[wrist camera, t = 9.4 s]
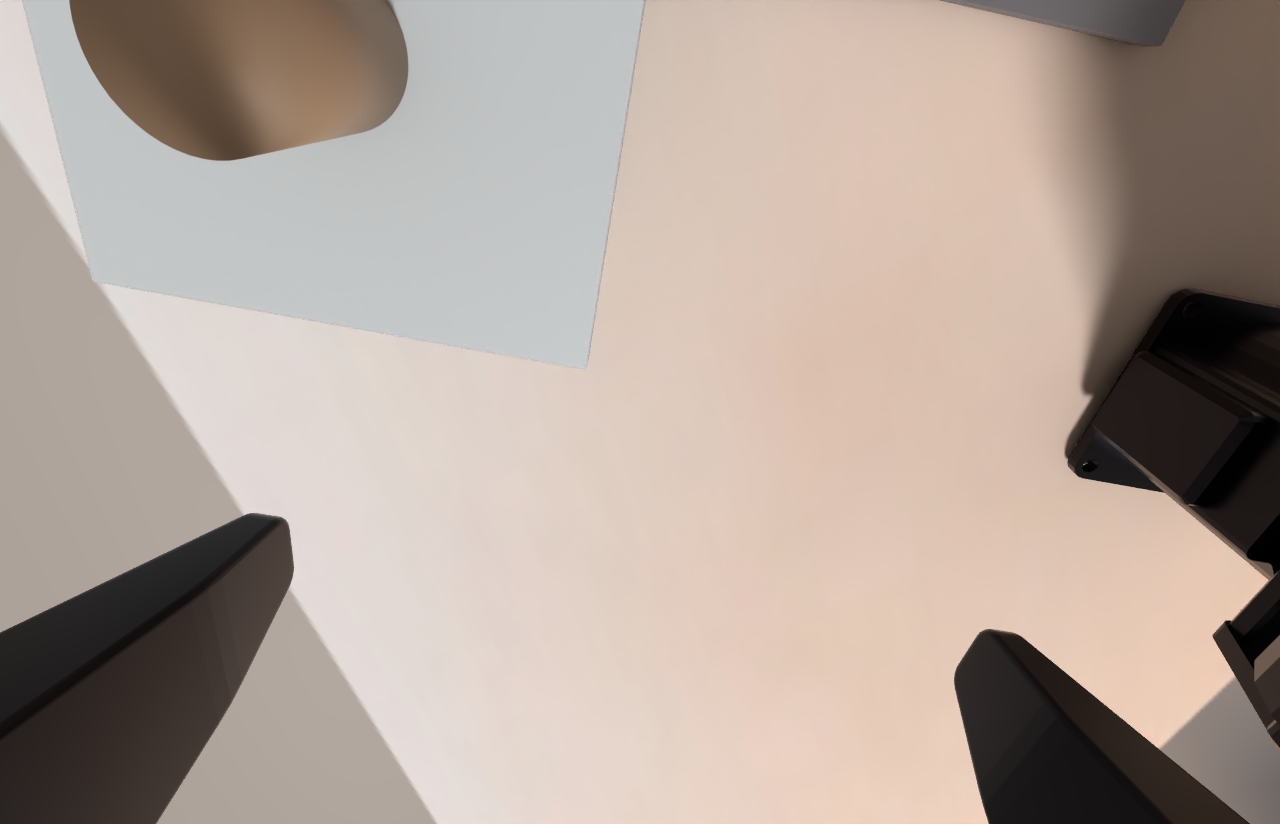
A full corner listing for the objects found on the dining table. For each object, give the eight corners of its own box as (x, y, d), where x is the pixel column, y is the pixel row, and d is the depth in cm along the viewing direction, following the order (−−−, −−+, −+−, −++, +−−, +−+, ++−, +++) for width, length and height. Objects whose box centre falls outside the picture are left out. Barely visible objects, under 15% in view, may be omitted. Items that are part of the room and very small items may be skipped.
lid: (688, -271, 10) (709, -524, 6) (589, 356, 15) (561, 467, 11) (-46, -454, 9) (-649, -900, 5) (120, 271, 14) (-103, 355, 10)
